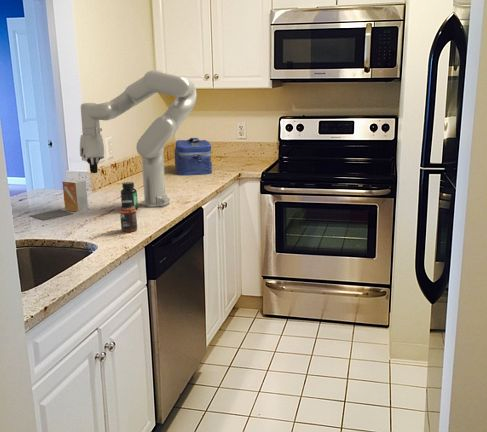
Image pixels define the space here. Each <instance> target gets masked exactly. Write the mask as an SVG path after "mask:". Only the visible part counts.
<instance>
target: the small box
mask: <svg viewBox="0 0 487 432" xmlns="http://www.w3.org/2000/svg"><path fill="white" fill-rule="evenodd" d="M61 184H62V190H63V201H64V211H68V212H77V213H79V212H83V211H86V210H89V201H88V191H87V181H86V180H85V179H75V178H72V179H66V180H62V183H61Z"/></svg>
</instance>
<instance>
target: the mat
mask: <svg viewBox="0 0 487 432" xmlns="http://www.w3.org/2000/svg"><path fill="white" fill-rule="evenodd" d="M74 213H75V212H72V211H69V210H65V209H60V208H59V209H55V210H54V209H53V210H49V211H44V212H40V213H34V214H30V215H28V216H29V217H31V218H34V219H38V220H41V221H48V220H52V219H56V218H61V217H66V216H72V215H74Z"/></svg>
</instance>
